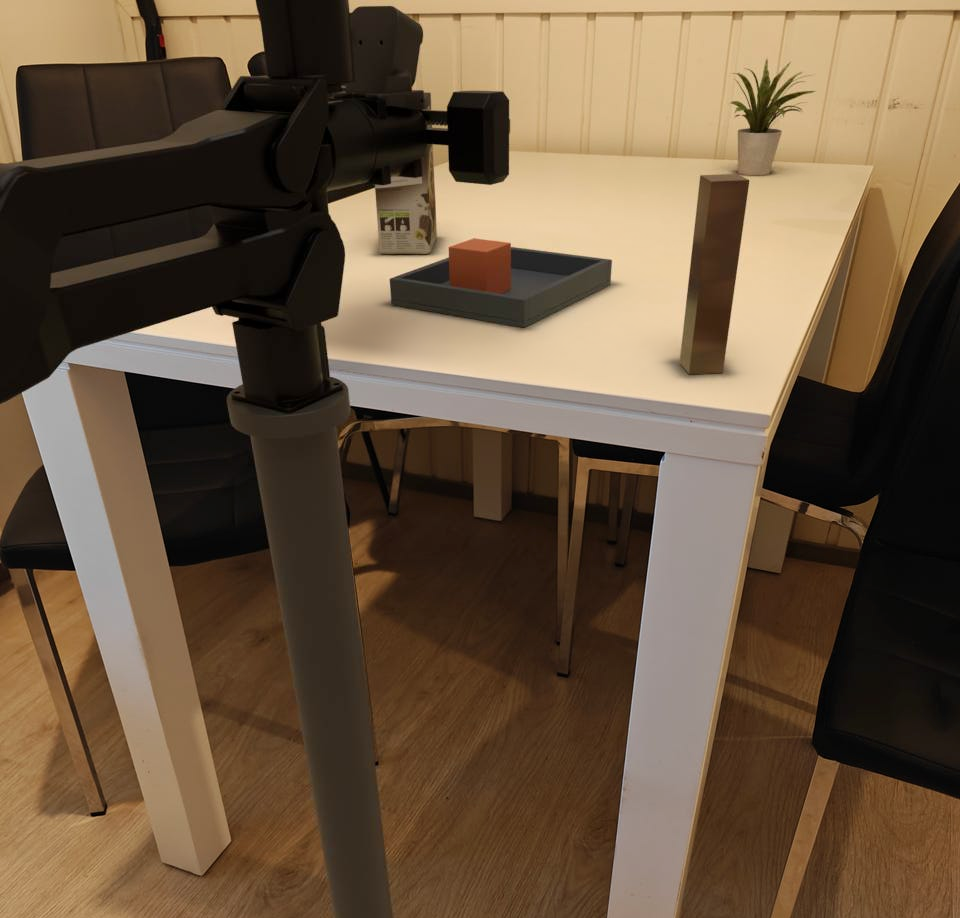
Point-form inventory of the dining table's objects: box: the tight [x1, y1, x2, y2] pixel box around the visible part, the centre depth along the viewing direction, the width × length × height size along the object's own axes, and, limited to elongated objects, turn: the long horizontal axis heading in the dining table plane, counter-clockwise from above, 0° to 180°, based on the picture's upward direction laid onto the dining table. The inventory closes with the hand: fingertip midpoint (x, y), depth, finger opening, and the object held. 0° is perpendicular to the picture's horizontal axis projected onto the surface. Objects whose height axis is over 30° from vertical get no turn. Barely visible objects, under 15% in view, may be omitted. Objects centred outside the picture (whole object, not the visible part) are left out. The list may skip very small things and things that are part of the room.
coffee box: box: [374, 91, 438, 255], centre depth 107 cm, size 9×6×16 cm
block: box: [448, 237, 512, 294], centre depth 91 cm, size 4×4×4 cm
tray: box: [389, 246, 613, 328], centre depth 93 cm, size 18×16×2 cm
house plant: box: [729, 58, 816, 176], centre depth 147 cm, size 14×14×16 cm
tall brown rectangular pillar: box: [679, 173, 751, 375], centre depth 70 cm, size 3×3×14 cm
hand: (464, 123), depth 79 cm, fingers open, 9 cm apart
